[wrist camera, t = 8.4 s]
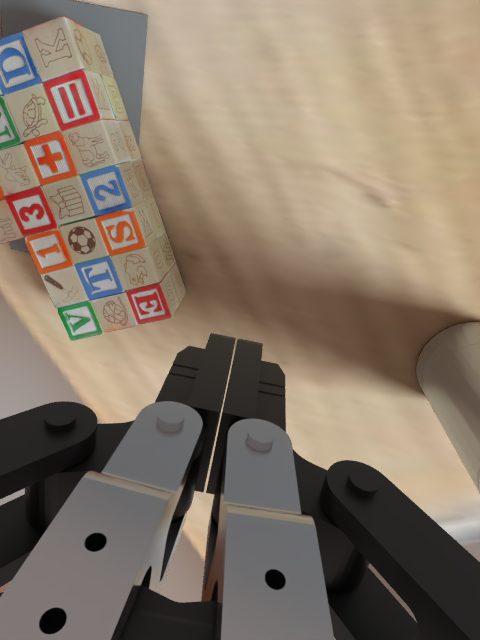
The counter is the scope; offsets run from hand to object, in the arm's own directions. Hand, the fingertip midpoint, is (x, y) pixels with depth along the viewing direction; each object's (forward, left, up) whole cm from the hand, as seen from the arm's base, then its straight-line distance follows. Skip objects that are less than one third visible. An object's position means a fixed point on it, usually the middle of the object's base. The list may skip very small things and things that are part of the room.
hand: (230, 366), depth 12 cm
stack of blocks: (+10, -1, -24) cm, 25 cm away
